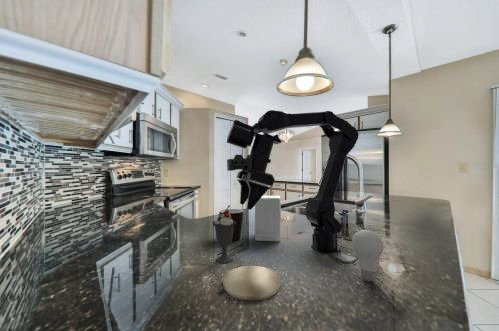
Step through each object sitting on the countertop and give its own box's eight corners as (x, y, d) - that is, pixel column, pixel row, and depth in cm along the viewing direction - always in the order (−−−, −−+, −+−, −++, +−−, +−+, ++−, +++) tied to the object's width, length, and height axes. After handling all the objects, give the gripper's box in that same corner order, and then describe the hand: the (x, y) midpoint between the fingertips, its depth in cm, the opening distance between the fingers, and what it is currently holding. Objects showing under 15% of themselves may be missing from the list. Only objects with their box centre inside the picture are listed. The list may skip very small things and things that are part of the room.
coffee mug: (242, 243, 72) (242, 213, 73) (217, 243, 72) (217, 213, 73) (244, 233, 84) (244, 207, 84) (222, 233, 84) (222, 207, 84)
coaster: (269, 268, 53) (268, 263, 53) (289, 295, 42) (289, 289, 42) (220, 274, 50) (220, 268, 50) (227, 304, 39) (227, 297, 39)
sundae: (233, 266, 55) (233, 206, 55) (208, 263, 56) (208, 205, 57) (239, 256, 61) (239, 203, 62) (217, 254, 63) (217, 202, 63)
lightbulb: (384, 291, 43) (383, 235, 43) (350, 283, 46) (349, 231, 46) (384, 278, 48) (383, 229, 48) (354, 272, 51) (353, 225, 52)
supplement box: (280, 242, 73) (280, 198, 74) (254, 241, 75) (254, 197, 75) (281, 234, 82) (280, 195, 83) (257, 233, 84) (257, 195, 84)
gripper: (229, 148, 69) (214, 195, 68) (240, 140, 51) (221, 204, 50) (260, 159, 72) (247, 204, 70) (282, 154, 54) (265, 215, 52)
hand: (244, 206), depth 60 cm, fingers open, 9 cm apart
